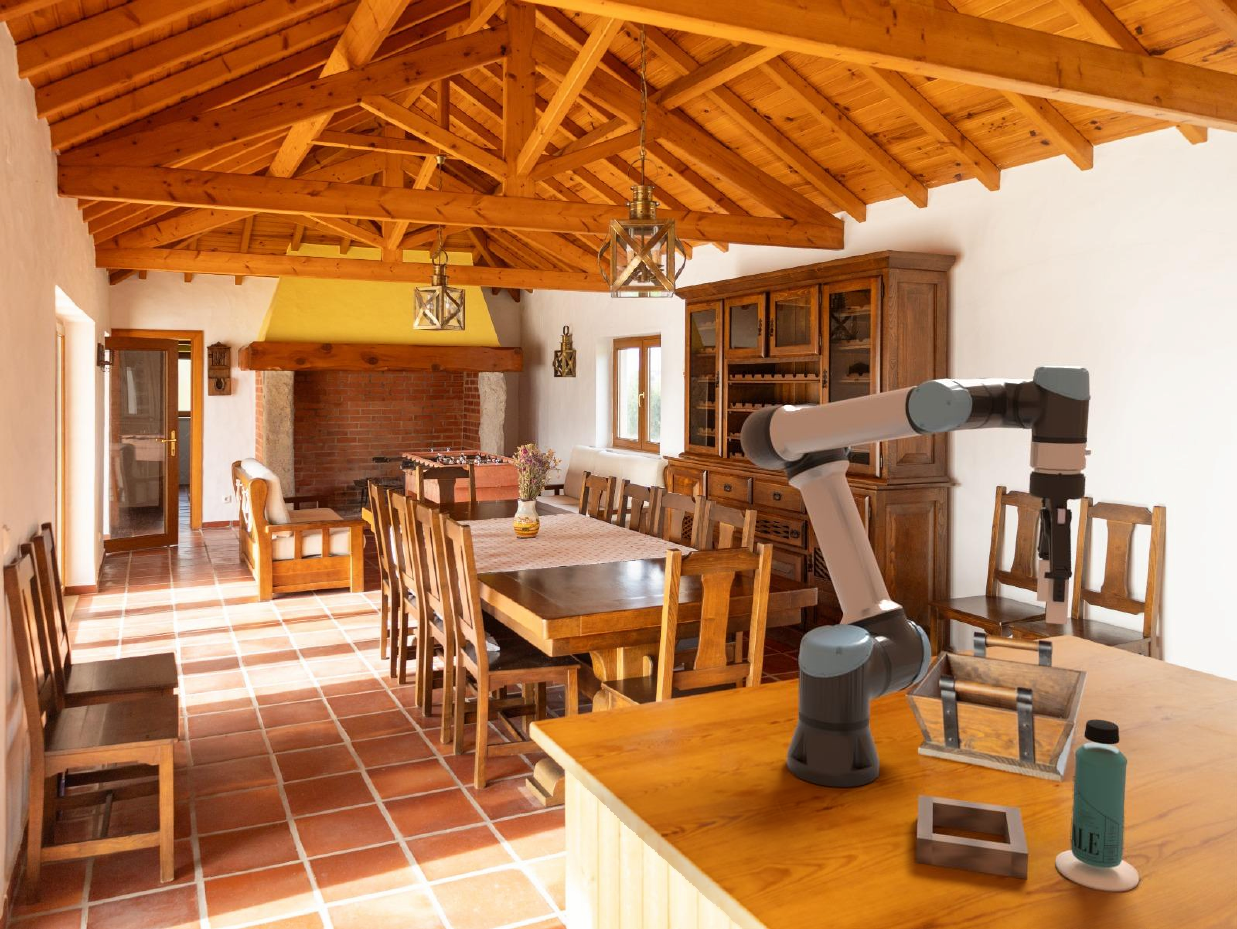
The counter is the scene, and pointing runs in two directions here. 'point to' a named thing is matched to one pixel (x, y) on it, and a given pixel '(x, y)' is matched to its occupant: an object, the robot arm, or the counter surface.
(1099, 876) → the coaster
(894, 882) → the counter surface
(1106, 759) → the beverage bottle
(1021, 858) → the holder
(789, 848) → the counter surface
